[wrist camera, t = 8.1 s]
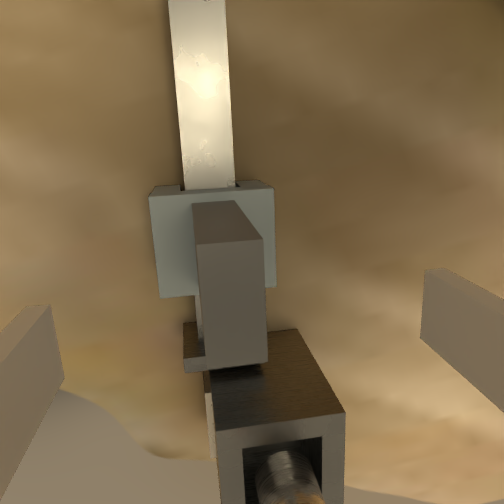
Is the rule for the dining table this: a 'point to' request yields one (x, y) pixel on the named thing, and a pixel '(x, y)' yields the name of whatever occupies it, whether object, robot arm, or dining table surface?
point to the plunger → (287, 480)
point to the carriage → (219, 262)
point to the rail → (202, 120)
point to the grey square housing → (274, 419)
